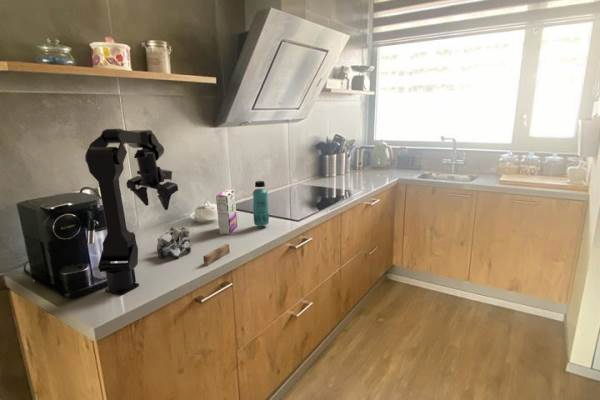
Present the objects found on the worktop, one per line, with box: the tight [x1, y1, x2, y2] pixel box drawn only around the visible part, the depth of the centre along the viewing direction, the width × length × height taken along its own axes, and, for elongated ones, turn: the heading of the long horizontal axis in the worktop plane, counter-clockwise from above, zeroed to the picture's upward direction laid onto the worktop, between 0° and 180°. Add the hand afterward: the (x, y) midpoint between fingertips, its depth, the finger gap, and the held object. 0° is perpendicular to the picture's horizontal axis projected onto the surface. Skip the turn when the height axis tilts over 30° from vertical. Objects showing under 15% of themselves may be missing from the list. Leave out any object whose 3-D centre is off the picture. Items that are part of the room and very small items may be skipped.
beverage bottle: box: [252, 180, 270, 227], centre depth 153 cm, size 6×7×20 cm
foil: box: [156, 226, 193, 259], centre depth 128 cm, size 12×11×15 cm
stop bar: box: [203, 243, 230, 266], centre depth 121 cm, size 12×2×3 cm, turn 155°
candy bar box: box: [215, 189, 238, 235], centre depth 150 cm, size 11×5×16 cm, turn 174°
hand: (156, 207), depth 129 cm, fingers open, 9 cm apart
